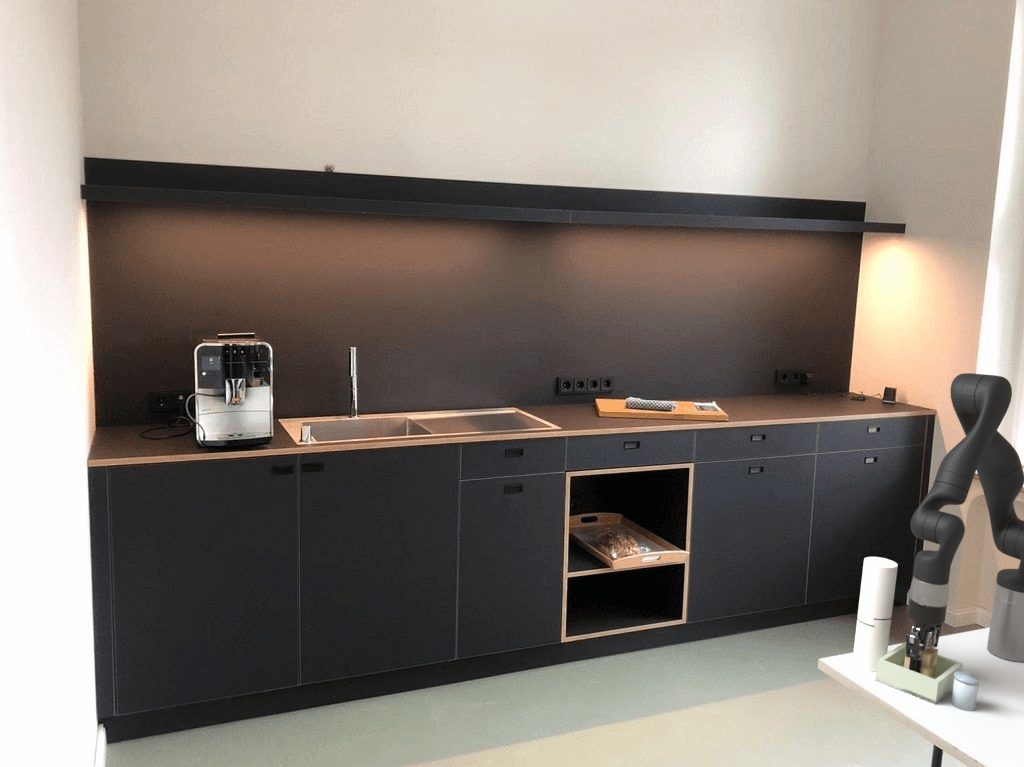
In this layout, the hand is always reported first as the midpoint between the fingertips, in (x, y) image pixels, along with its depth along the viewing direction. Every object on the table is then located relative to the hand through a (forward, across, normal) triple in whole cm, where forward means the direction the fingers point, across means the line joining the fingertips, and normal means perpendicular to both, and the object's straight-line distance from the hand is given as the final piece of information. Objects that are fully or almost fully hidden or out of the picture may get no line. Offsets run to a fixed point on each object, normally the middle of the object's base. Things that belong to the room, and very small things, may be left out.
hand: (919, 670), depth 191 cm
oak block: (+1, 0, 0) cm, 1 cm away
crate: (+3, 0, 0) cm, 3 cm away
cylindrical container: (+3, +1, -11) cm, 11 cm away
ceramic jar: (+3, +3, +10) cm, 11 cm away
